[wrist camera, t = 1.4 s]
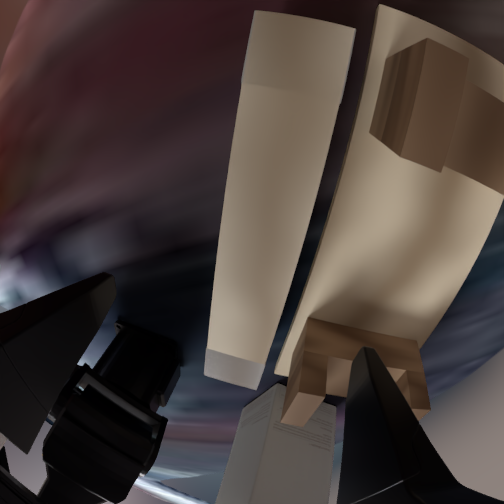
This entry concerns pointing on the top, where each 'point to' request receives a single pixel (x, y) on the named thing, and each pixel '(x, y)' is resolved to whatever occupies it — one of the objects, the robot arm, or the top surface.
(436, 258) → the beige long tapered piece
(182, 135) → the top surface
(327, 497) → the supplement box
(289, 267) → the rail
